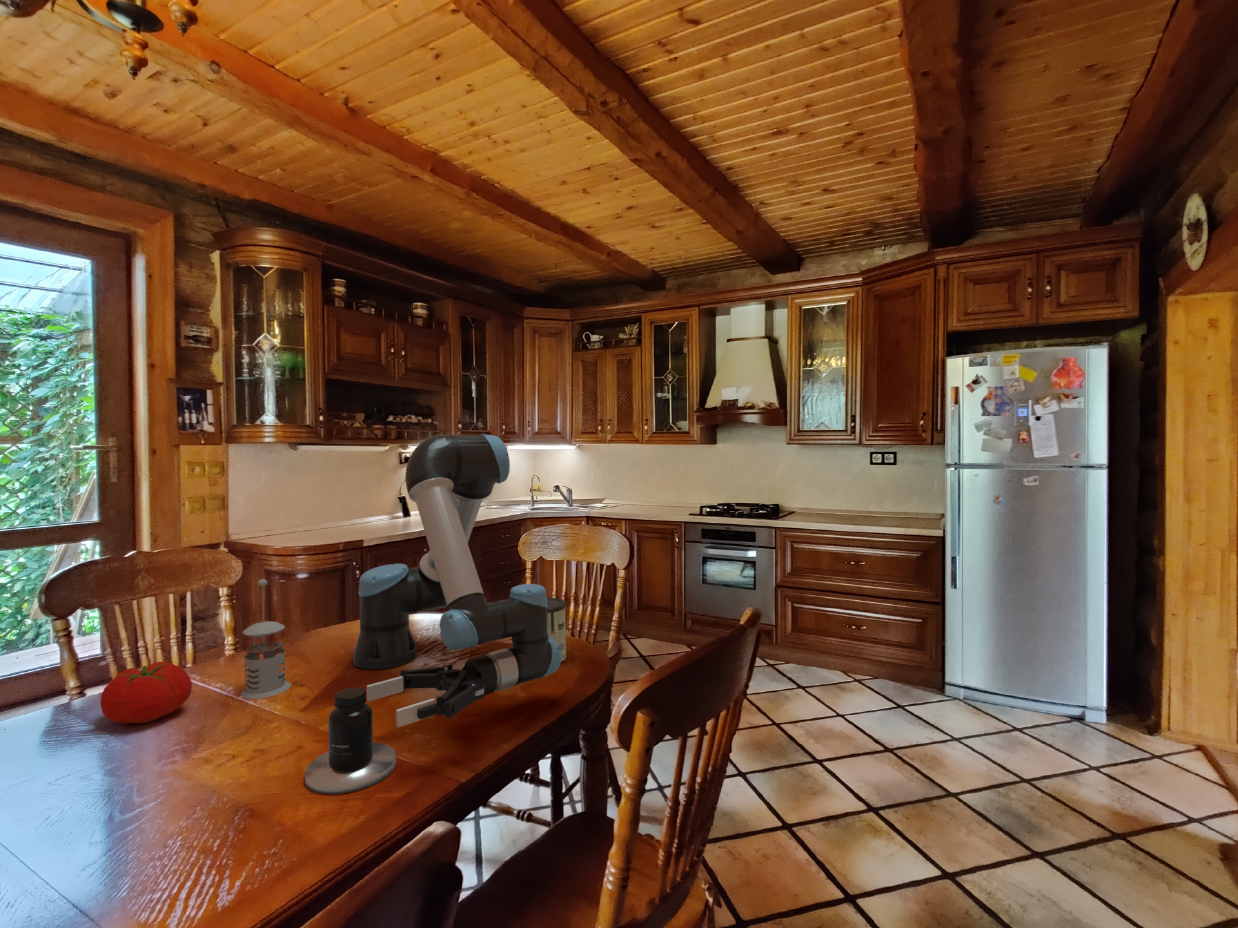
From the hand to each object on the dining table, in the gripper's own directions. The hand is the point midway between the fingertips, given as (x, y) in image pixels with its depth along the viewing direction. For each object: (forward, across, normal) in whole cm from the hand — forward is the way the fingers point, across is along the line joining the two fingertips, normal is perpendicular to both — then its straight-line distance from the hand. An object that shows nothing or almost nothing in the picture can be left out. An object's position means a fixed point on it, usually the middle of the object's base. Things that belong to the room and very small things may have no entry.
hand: (381, 705), depth 105 cm
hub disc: (+5, 0, -9) cm, 11 cm away
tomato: (+29, +49, -10) cm, 58 cm away
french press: (+8, +49, -10) cm, 50 cm away
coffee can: (-49, +21, -10) cm, 54 cm away
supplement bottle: (+5, 0, -8) cm, 10 cm away
